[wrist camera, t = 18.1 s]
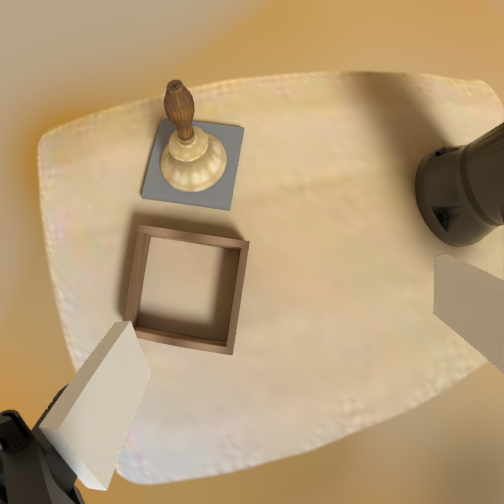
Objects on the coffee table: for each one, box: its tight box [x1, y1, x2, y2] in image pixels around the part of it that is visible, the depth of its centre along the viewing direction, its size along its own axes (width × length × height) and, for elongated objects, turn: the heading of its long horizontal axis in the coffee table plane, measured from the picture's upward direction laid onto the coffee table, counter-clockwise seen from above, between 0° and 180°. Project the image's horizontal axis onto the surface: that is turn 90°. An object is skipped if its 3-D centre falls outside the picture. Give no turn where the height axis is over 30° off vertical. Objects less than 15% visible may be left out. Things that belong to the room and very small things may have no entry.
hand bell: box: [160, 80, 227, 192], centre depth 29 cm, size 8×8×16 cm
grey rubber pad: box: [141, 119, 244, 211], centre depth 37 cm, size 11×11×1 cm
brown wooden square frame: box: [124, 225, 250, 355], centre depth 35 cm, size 13×13×3 cm
